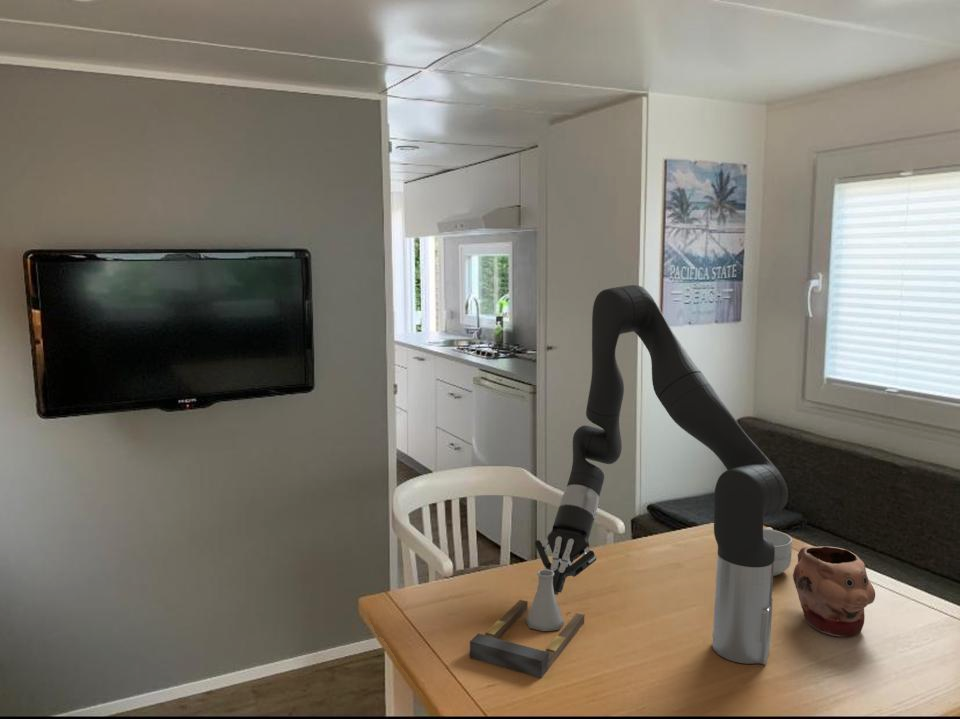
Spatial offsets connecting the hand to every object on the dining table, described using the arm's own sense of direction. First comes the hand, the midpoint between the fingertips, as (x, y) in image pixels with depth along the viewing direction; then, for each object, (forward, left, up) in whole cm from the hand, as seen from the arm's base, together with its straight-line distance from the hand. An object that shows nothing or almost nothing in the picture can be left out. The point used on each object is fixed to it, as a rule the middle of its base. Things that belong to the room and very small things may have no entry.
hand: (553, 592), depth 142 cm
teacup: (-34, -43, -5) cm, 55 cm away
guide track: (0, +11, -4) cm, 12 cm away
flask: (0, +4, -5) cm, 6 cm away
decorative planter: (-47, -22, -5) cm, 52 cm away
